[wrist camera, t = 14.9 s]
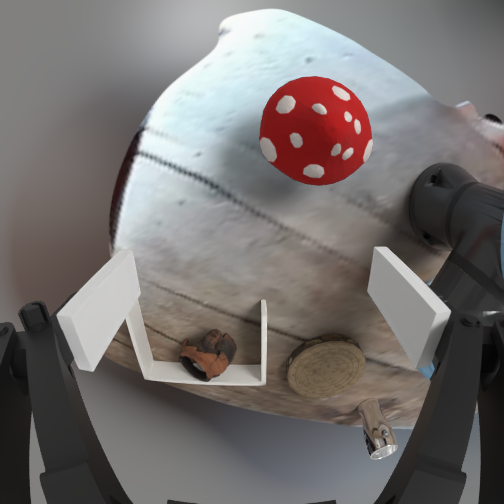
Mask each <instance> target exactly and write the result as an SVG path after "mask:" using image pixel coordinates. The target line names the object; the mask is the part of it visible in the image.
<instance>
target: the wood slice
mask: <svg viewBox="0 0 504 504" xmlns="http://www.w3.org/2000/svg"><path fill="white" fill-rule="evenodd" d="M364 369H365V357H364V355H363V352H362V350H361V348H360V346H359V344H358V343H357V342H356V341H355V340H353V339H352V338H351V337H348V336H344V335H341V334H326V335H322V336H318V337H314V338H312V339H310V340H308V341H306V342H304V343H303V344H301V345H300V346H299V347H298V348H297V349H295V350H294V351H293V353H292V354H291V356H290V357H289V359H288V362H287V367H286V370H287V378H288V382H289V386H290V387H291V388H292V389H293V390H294V391H295V392H296V393H298V394H300V395H302V396H305V397H310V398H325V397H330V396H334V395H337V394H339V393H341V392H344V391H346V390H347V389H349V388H350V387H351V386H353V385H354V384H355V383H356V382H357V381H358V380H359V379H360V377H361V376H362V374H363V372H364Z"/></svg>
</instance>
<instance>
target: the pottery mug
mask: <svg viewBox="0 0 504 504" xmlns="http://www.w3.org/2000/svg"><path fill="white" fill-rule="evenodd" d="M188 342H189V341H188V339H186V340H185V341H184V343H183V347H182V352H181V353H180V355H181V356H180V357H179V361H180V362H181V364H182V366H183V367H184V368H185V369H186V370H187V371H188V372H189V373H190V374H191V375H192V376H193V377H195V378H196V379H198V380H200V381H203V382H209V381H210V380H211V378H215V377H218V376H220V374H222V373H223V372H224V371H226V369H227V367H228V366H229V365H230V363H231V361H232V360H233V359H234V355H235V353H236V344H235V342H234V340H233V339H232V338H231V337H230V336H229V335H228V334H227V333H226V334H225V336H224V337H223V336H222V333H221V332H220V330H217V329H213V330H211V331H210V332H209V333H208V334H207V335H206V337H204V338H203V339H202V340H201V341H200V344H199V349H200V350H201V352H200V351H197V347H192V346H187V344H188ZM217 350H219V353H218V355H217V354H216V351H217ZM188 357H189V358H191V359H193V360H195V361H196V362H197V363H198V364H199V365H200V366H201V367H202V368H203V369H204V371H205V372H203V371H201V370H199V369H198V368H197V367H196V366H194V365H193V363H192V362H191V360H190V359H189V358H188ZM206 375H207V376H206Z"/></svg>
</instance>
